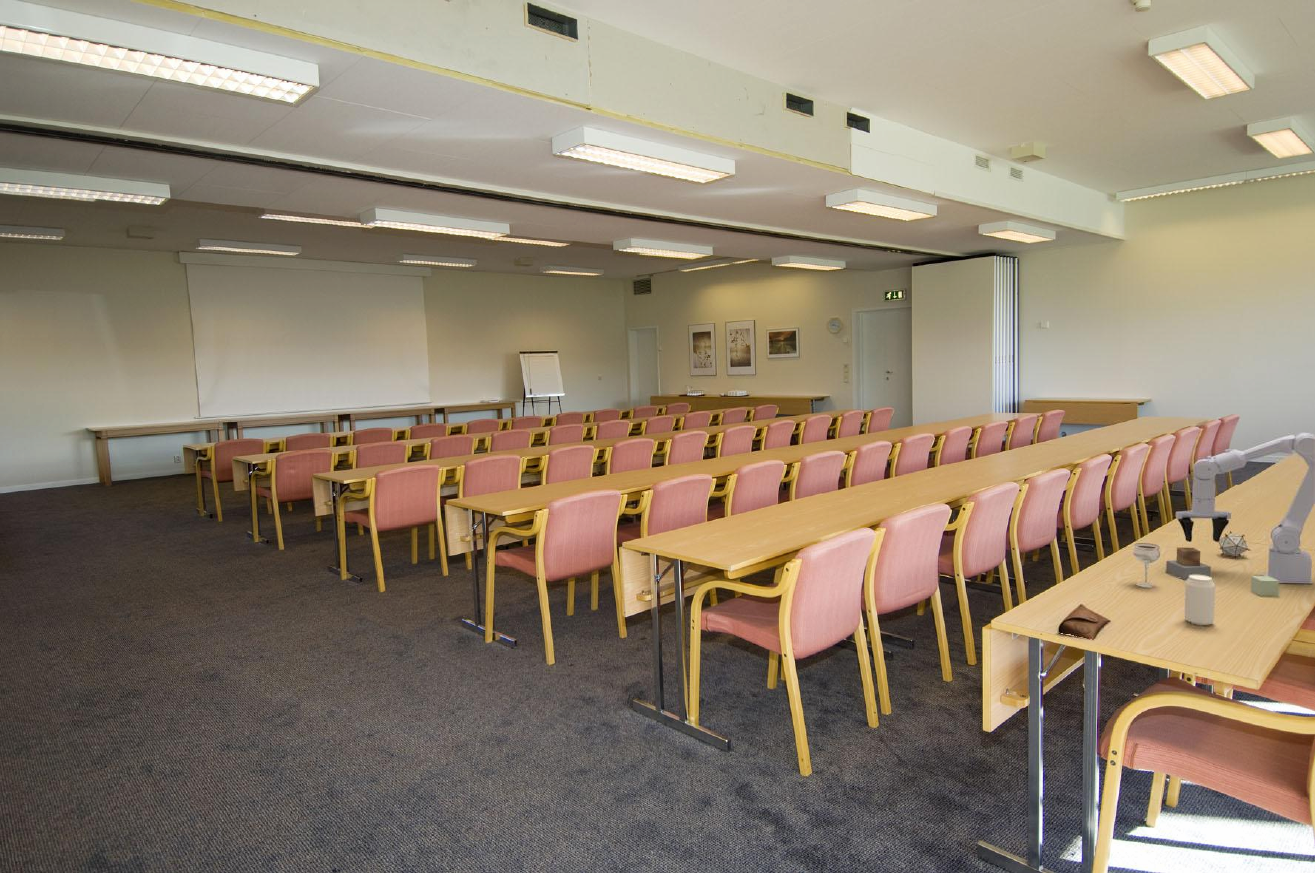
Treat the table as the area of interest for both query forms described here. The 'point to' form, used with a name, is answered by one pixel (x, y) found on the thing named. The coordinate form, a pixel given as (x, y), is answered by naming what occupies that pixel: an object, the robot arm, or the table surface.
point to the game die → (1233, 545)
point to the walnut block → (1188, 556)
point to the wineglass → (1146, 558)
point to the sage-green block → (1265, 586)
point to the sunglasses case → (1083, 623)
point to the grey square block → (1187, 569)
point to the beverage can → (1199, 599)
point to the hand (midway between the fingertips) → (1202, 541)
